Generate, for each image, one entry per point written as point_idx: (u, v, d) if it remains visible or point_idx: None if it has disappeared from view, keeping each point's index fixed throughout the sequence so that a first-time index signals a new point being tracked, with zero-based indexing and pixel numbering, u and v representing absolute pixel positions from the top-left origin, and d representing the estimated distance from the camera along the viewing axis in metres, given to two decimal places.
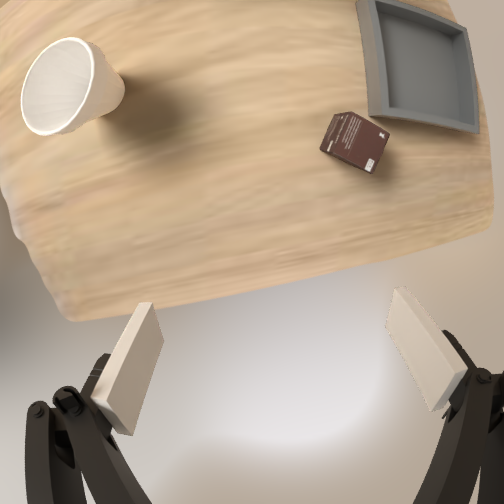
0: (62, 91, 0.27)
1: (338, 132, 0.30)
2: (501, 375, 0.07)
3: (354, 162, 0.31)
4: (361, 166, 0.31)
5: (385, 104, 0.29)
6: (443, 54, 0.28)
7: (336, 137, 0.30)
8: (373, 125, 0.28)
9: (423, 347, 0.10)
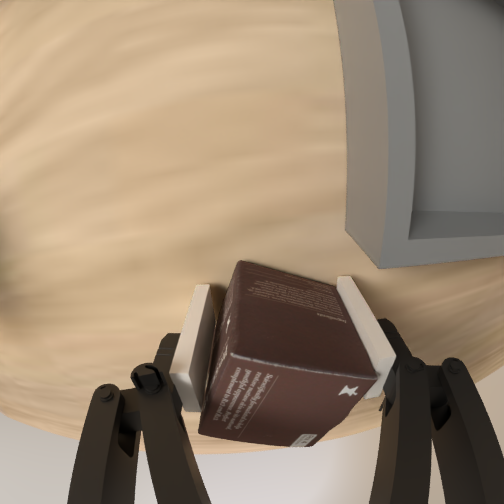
0: None
1: (210, 385, 0.10)
2: (439, 370, 0.08)
3: (259, 443, 0.11)
4: (280, 444, 0.11)
5: (397, 232, 0.10)
6: None
7: (207, 390, 0.11)
8: (320, 377, 0.09)
9: None
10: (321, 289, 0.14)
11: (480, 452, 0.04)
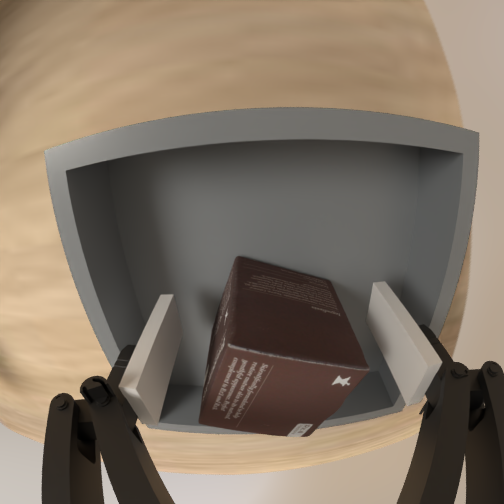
0: None
1: (209, 376, 0.11)
2: (479, 372, 0.07)
3: (257, 432, 0.11)
4: (277, 434, 0.12)
5: None
6: (375, 226, 0.15)
7: (207, 380, 0.11)
8: (313, 367, 0.09)
9: (399, 340, 0.11)
10: (316, 284, 0.15)
11: None
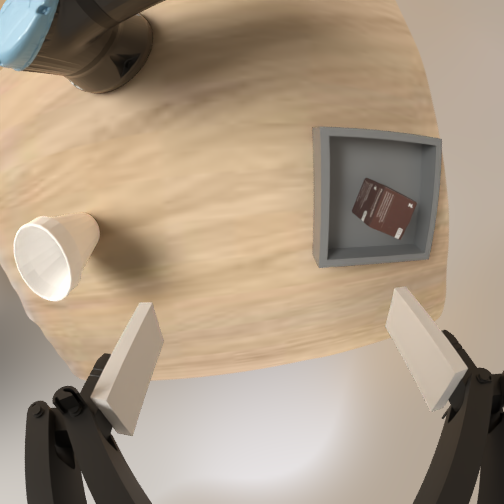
0: (47, 237, 0.36)
1: (373, 206, 0.34)
2: (501, 375, 0.07)
3: (386, 233, 0.34)
4: (391, 235, 0.34)
5: (323, 258, 0.39)
6: (408, 171, 0.38)
7: (371, 209, 0.34)
8: (403, 197, 0.32)
9: (423, 347, 0.10)
10: None
11: None
